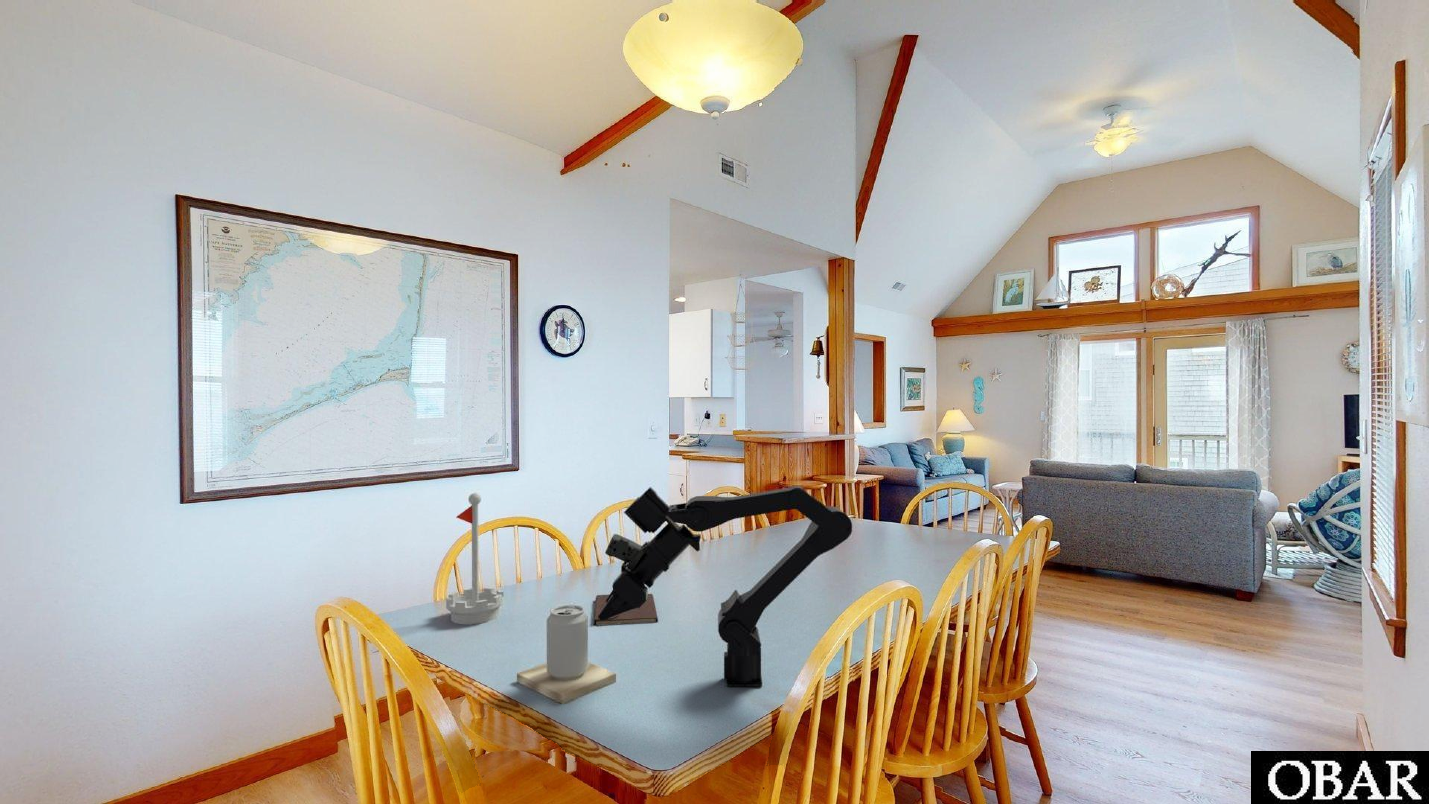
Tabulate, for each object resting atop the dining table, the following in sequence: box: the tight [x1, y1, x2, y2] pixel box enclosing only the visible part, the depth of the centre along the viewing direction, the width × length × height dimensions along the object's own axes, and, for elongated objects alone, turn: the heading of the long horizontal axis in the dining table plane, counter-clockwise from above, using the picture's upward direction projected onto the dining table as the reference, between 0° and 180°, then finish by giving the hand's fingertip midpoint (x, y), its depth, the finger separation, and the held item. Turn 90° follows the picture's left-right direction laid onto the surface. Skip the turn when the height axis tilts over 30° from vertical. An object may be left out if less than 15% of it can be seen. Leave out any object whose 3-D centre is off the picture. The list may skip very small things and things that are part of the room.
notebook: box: [593, 593, 659, 626], centre depth 165 cm, size 15×20×2 cm
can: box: [546, 604, 589, 680], centre depth 123 cm, size 8×8×12 cm
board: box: [516, 661, 617, 704], centre depth 123 cm, size 14×12×2 cm
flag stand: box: [445, 492, 504, 625], centre depth 161 cm, size 13×13×30 cm
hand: (603, 610), depth 123 cm, fingers open, 9 cm apart
